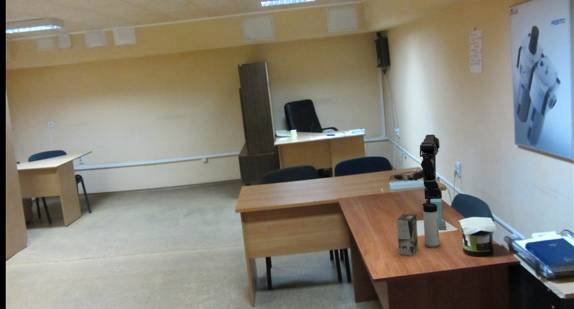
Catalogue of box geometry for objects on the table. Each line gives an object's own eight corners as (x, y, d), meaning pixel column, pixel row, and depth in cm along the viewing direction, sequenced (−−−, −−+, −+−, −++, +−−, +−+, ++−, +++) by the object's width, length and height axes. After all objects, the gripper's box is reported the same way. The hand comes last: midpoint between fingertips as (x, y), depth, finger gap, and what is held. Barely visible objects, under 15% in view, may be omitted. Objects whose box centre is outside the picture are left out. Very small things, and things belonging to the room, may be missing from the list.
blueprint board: (439, 218, 245) (439, 217, 245) (458, 231, 225) (458, 229, 225) (397, 225, 242) (397, 223, 242) (413, 238, 222) (413, 236, 222)
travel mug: (422, 243, 215) (419, 202, 211) (436, 241, 215) (433, 200, 212) (427, 248, 209) (425, 206, 205) (441, 246, 209) (439, 204, 206)
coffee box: (412, 255, 203) (410, 220, 200) (398, 254, 207) (396, 219, 204) (418, 248, 211) (416, 214, 208) (404, 246, 214) (402, 213, 211)
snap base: (428, 224, 236) (428, 220, 235) (445, 224, 234) (444, 220, 233) (429, 230, 228) (428, 226, 228) (446, 230, 226) (446, 226, 226)
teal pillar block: (431, 221, 234) (430, 199, 231) (441, 221, 232) (440, 198, 230) (432, 225, 229) (430, 202, 227) (442, 225, 228) (441, 201, 225)
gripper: (412, 162, 253) (414, 190, 256) (412, 170, 235) (414, 200, 238) (433, 161, 250) (435, 189, 253) (435, 169, 232) (437, 199, 235)
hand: (430, 194), depth 245 cm, fingers open, 9 cm apart
